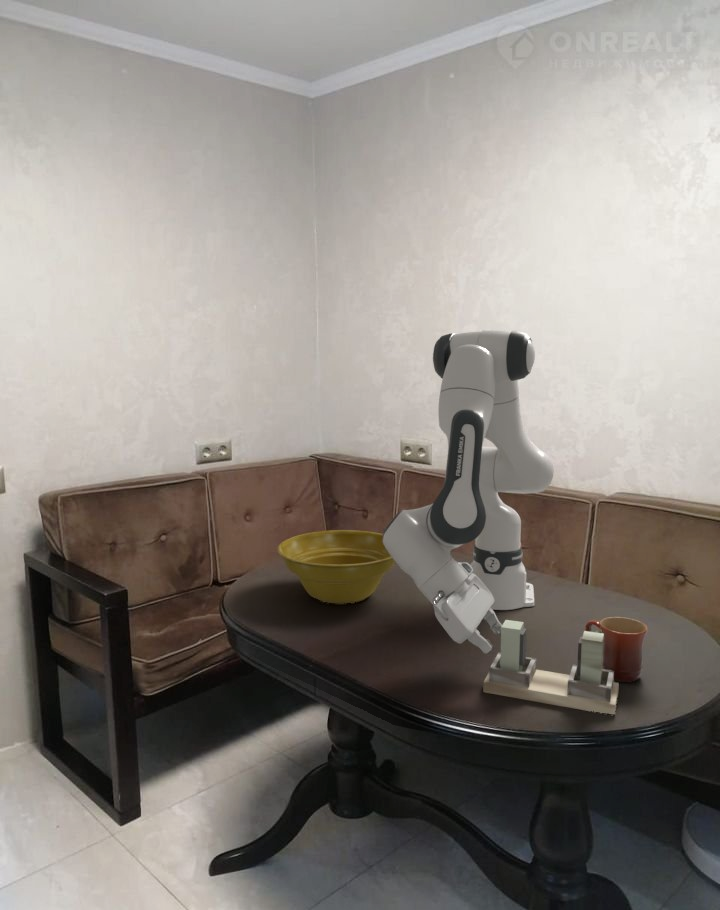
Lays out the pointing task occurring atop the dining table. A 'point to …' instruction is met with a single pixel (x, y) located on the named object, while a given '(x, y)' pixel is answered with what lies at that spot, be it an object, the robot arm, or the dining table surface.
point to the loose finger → (513, 645)
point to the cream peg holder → (561, 680)
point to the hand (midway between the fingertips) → (495, 640)
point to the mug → (622, 646)
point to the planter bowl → (337, 563)
